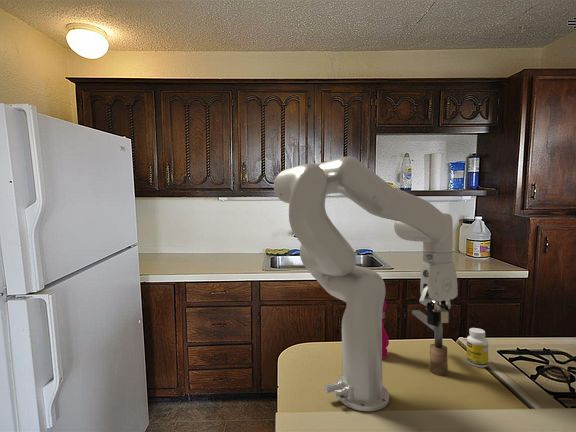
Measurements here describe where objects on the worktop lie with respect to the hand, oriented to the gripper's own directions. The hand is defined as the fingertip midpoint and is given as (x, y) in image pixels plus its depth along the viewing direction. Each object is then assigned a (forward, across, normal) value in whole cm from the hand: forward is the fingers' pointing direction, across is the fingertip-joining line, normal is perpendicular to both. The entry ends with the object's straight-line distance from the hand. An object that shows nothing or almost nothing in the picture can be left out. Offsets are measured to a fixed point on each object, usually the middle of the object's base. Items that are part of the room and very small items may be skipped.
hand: (438, 322), depth 89 cm
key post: (+14, 0, 0) cm, 14 cm away
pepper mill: (+14, -7, +16) cm, 23 cm away
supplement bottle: (+14, +14, -2) cm, 20 cm away
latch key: (+6, +2, +5) cm, 9 cm away
